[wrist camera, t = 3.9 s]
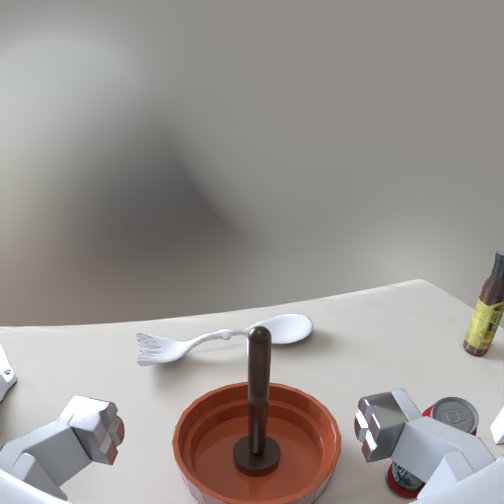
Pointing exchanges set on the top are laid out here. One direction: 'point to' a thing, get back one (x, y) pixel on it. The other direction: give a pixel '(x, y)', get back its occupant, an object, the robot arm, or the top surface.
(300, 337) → the spoon
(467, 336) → the sauce bottle
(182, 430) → the bowl
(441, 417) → the beverage can
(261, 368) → the brown rod on stand
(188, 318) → the top surface
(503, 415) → the pepper shaker
